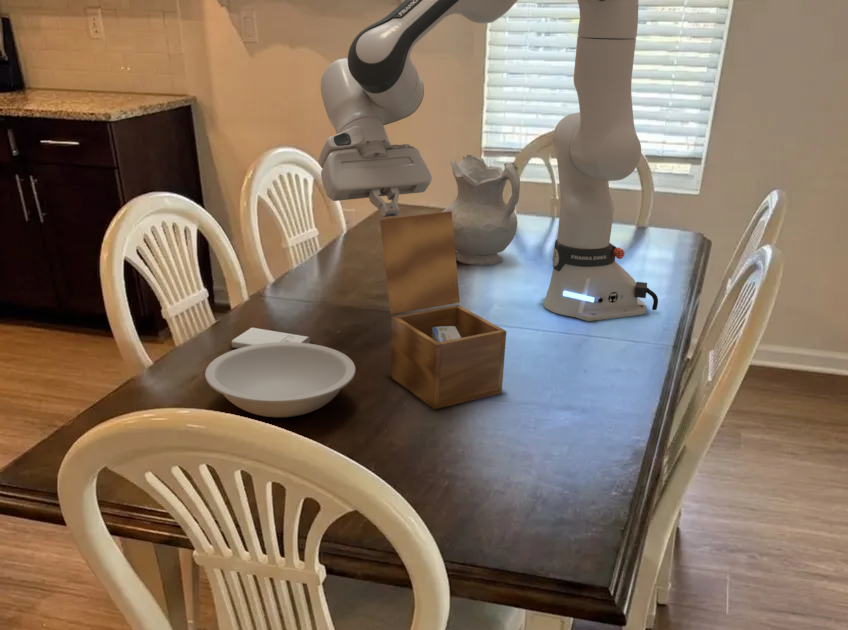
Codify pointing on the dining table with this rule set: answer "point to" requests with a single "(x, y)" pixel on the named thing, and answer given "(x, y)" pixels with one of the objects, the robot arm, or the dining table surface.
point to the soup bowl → (280, 377)
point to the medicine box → (445, 333)
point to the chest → (447, 356)
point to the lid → (420, 261)
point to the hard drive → (265, 338)
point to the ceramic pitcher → (483, 210)
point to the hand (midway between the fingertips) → (391, 214)
